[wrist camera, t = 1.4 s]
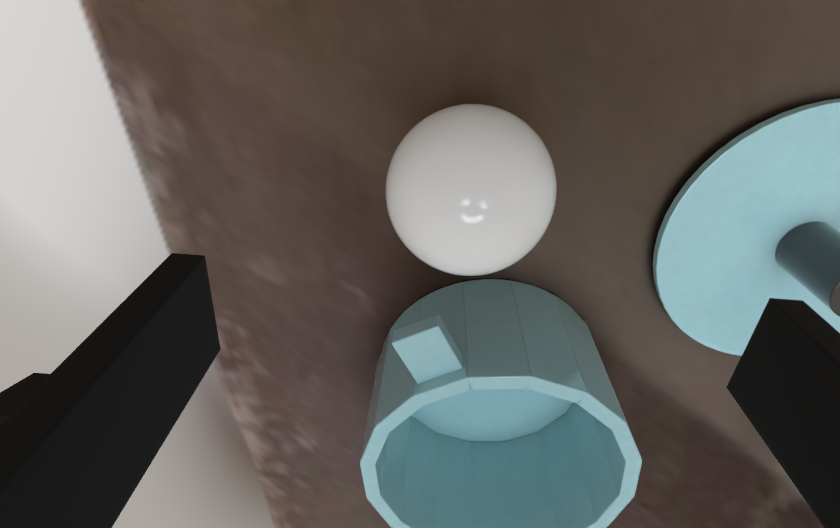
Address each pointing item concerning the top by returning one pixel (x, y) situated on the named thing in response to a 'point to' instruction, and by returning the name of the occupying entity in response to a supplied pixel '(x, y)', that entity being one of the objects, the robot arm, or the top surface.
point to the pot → (495, 416)
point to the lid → (755, 229)
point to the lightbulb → (471, 189)
